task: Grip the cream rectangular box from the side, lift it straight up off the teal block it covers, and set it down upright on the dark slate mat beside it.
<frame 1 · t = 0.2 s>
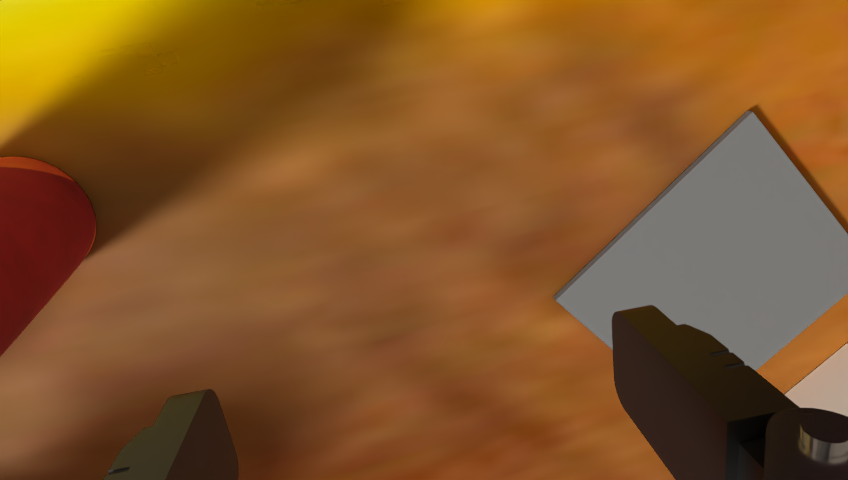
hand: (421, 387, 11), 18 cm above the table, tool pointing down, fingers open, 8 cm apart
cream rectangular box: (829, 400, 37), on the table
mat: (716, 281, 33), on the table
coffee cup: (30, 217, 26), on the table
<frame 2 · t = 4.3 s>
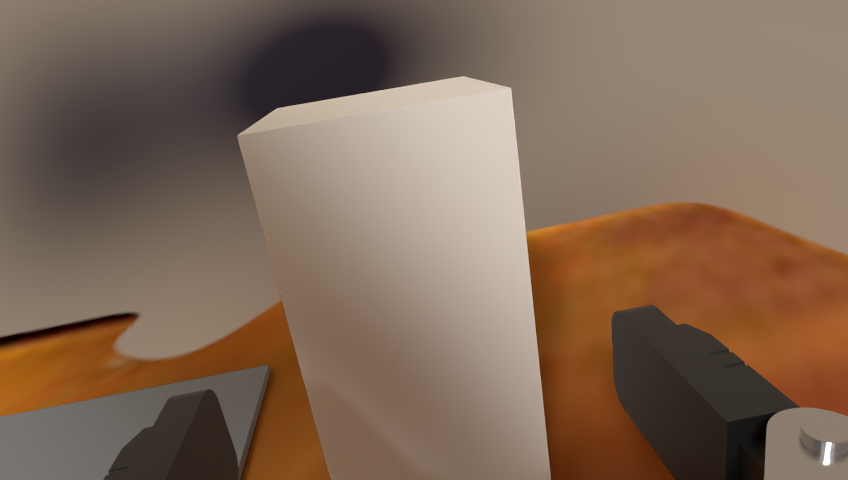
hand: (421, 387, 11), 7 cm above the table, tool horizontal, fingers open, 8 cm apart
cream rectangular box: (435, 440, 20), on the table
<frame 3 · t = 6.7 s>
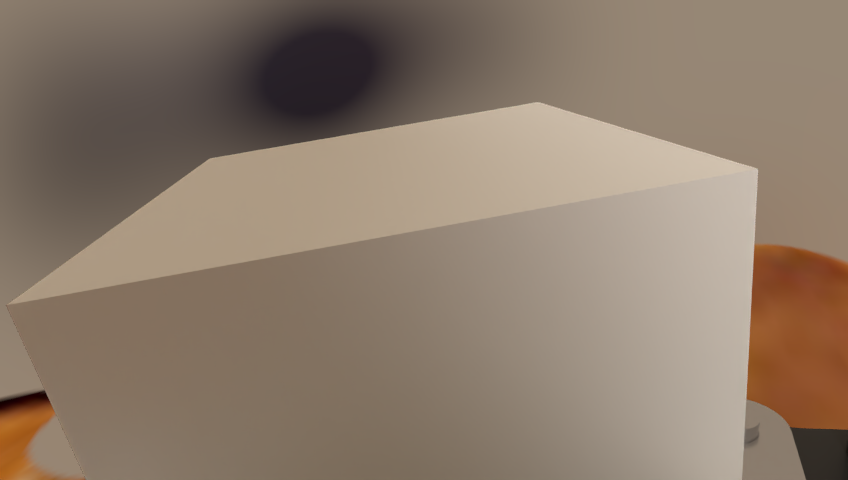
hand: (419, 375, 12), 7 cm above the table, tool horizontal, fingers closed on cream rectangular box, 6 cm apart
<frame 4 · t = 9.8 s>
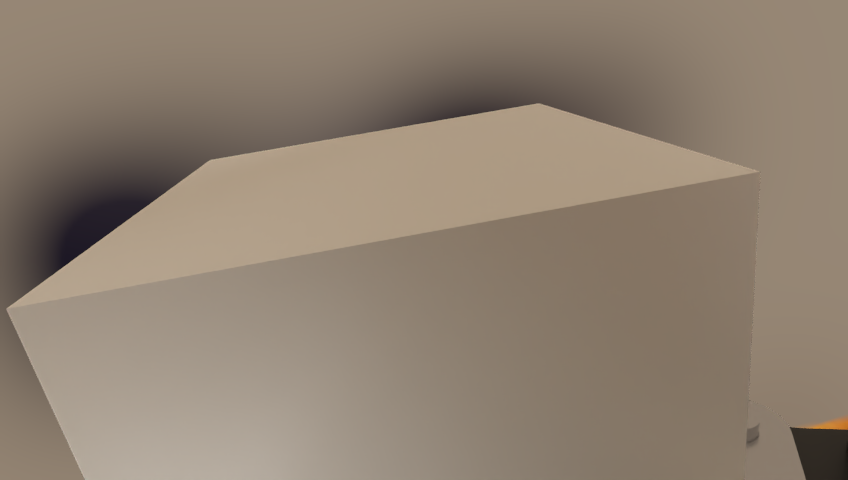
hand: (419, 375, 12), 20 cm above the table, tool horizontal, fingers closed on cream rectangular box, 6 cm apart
when the fingers open (9 cm above the table, at t = 12.9 s): cream rectangular box drops 1 cm, resting on mat.
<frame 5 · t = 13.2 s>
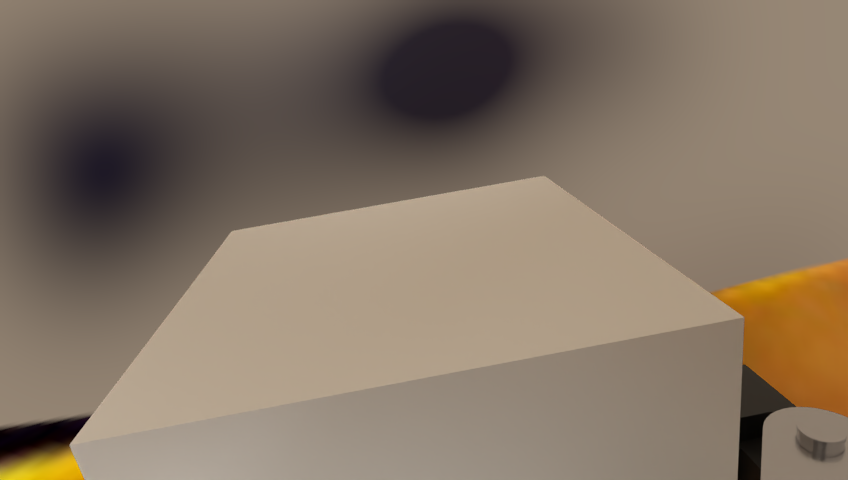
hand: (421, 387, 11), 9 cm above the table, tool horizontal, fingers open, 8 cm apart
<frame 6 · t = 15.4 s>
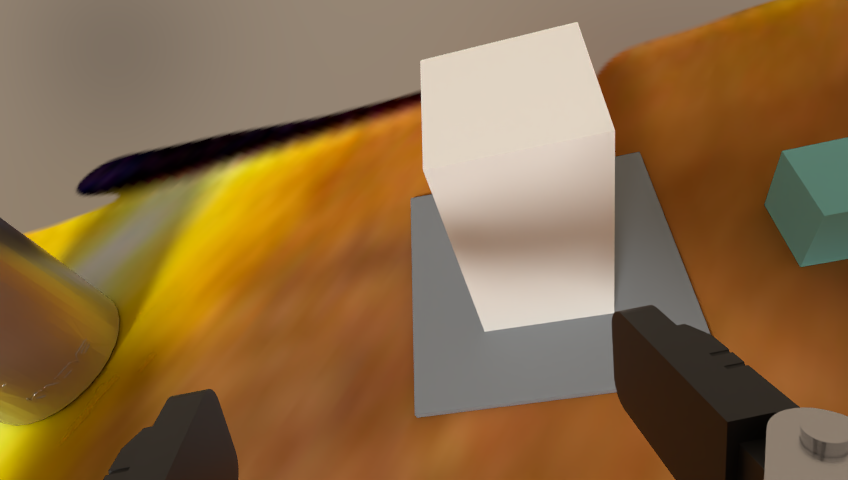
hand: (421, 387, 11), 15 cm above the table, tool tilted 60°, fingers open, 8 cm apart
block: (837, 201, 26), on the table
cream rectangular box: (538, 269, 30), resting on mat
mat: (539, 273, 30), on the table
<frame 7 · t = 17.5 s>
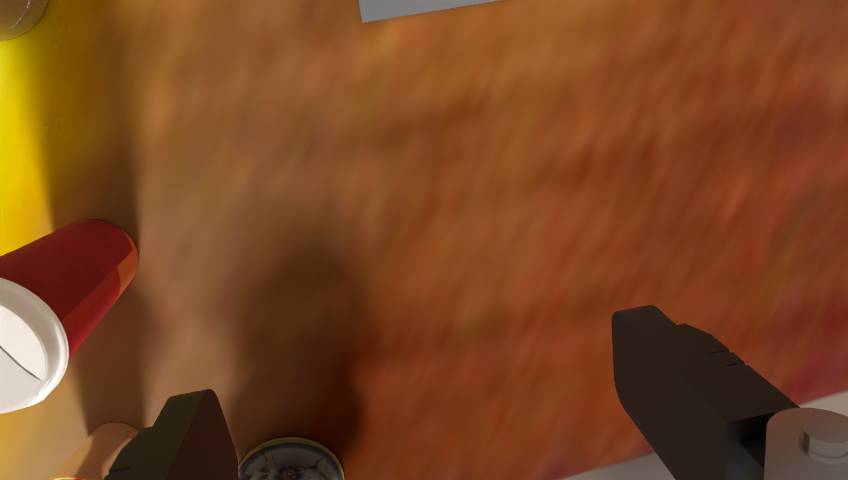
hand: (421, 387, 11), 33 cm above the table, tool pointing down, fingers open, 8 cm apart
apothecary jar: (290, 478, 52), on the table
coffee cup: (100, 255, 43), on the table
drinking straw: (121, 442, 49), on the table
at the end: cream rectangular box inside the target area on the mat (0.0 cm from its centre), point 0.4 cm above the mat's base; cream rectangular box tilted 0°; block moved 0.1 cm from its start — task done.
